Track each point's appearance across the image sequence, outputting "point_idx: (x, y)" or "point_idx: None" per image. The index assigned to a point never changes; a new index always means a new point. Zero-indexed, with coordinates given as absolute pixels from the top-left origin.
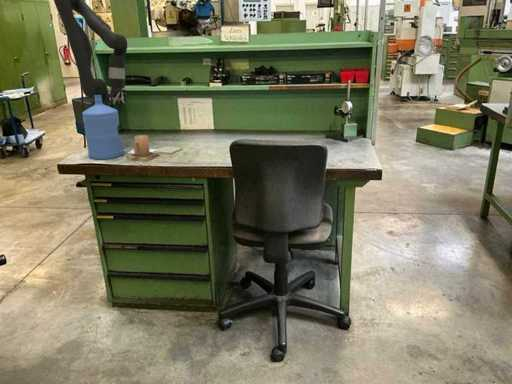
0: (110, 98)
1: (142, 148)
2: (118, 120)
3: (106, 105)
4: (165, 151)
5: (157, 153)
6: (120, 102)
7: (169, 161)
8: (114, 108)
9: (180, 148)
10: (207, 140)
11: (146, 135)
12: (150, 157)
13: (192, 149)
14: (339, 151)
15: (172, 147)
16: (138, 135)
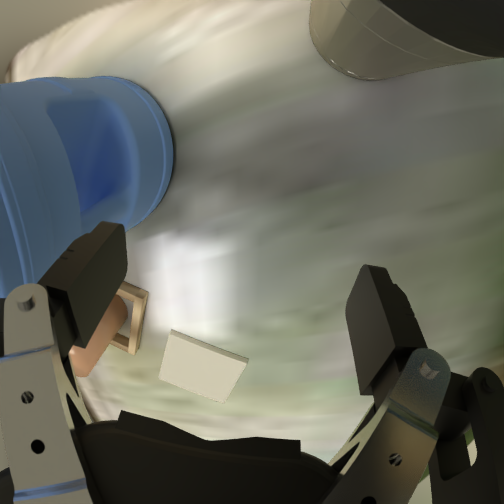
0: (9, 372)
1: None
2: None
3: (497, 39)
4: (171, 366)
5: (125, 350)
6: (391, 375)
7: (98, 367)
8: (104, 302)
9: (216, 399)
10: (346, 438)
11: (85, 373)
12: None
13: (228, 416)
14: None
15: (229, 382)
16: (74, 349)
